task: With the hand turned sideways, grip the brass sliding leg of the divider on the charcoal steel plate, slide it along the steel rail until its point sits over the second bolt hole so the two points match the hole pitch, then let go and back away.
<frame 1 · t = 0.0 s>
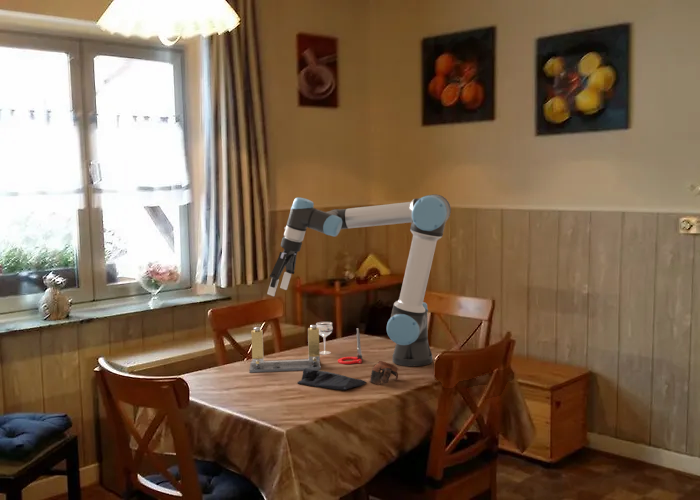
hand: (277, 291, 284), 28 cm above the table, tool tilted 20°, fingers open, 13 cm apart
dark folded cloth: (331, 385, 262), on the table
brown crumpled piece: (384, 382, 262), on the table
wineglass: (324, 353, 303), on the table
sliding leg: (257, 345, 281), point 9 cm above the table, slide at 7.0 cm
tow hook: (349, 362, 289), on the table
bolt plate: (285, 366, 284), on the table
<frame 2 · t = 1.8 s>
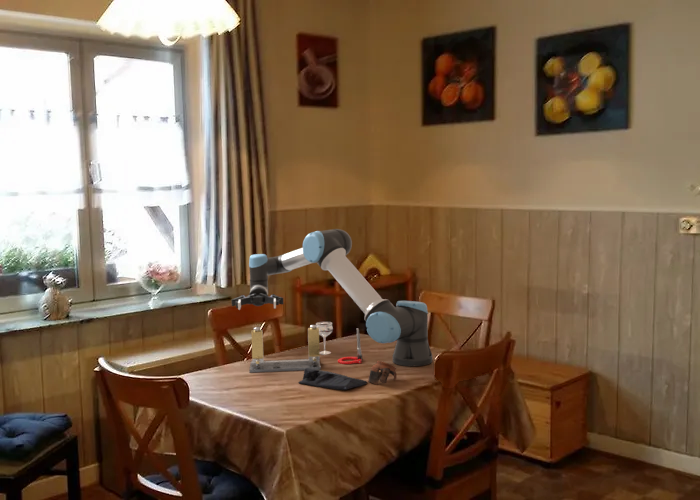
hand: (256, 305, 290), 22 cm above the table, tool horizontal, fingers open, 13 cm apart
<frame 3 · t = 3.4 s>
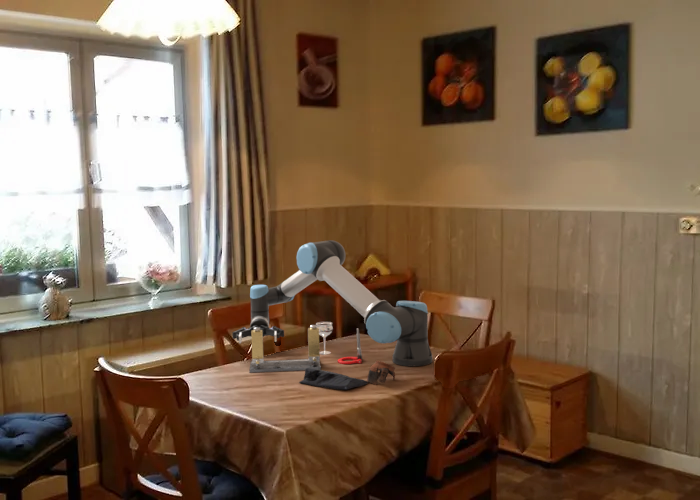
hand: (257, 339, 290), 9 cm above the table, tool horizontal, fingers open, 13 cm apart
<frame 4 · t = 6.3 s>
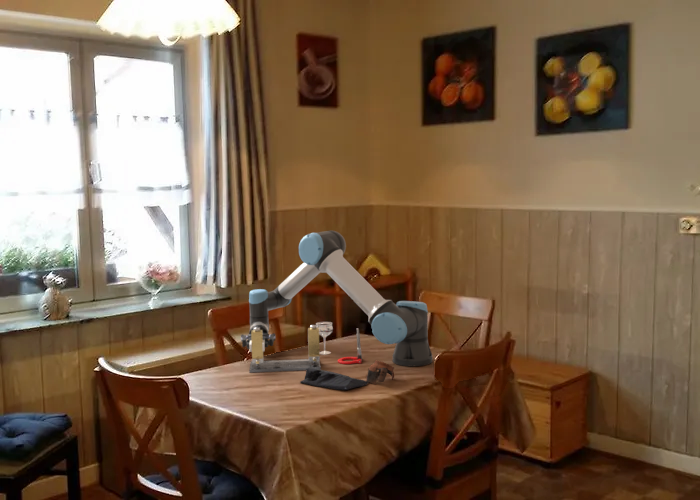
hand: (256, 347, 276), 9 cm above the table, tool horizontal, fingers closed on sliding leg, 4 cm apart
sliding leg: (257, 345, 281), point 9 cm above the table, slide at 7.0 cm, touching gripper
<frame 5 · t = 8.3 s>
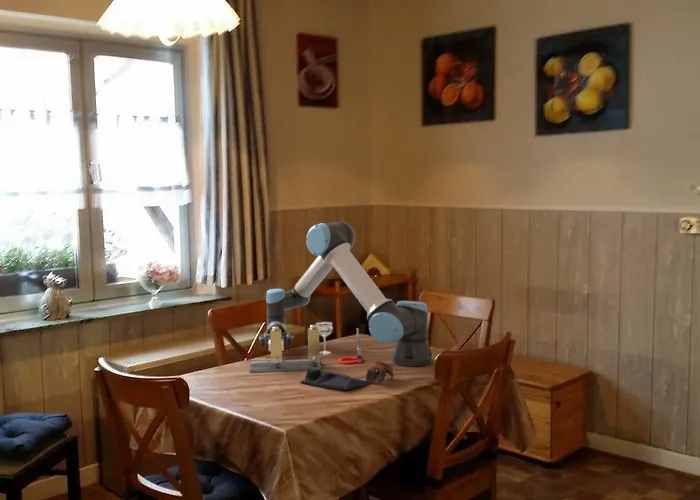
hand: (276, 347, 277), 9 cm above the table, tool horizontal, fingers closed on sliding leg, 4 cm apart
sliding leg: (276, 344, 281), point 9 cm above the table, slide at 0.0 cm, touching gripper
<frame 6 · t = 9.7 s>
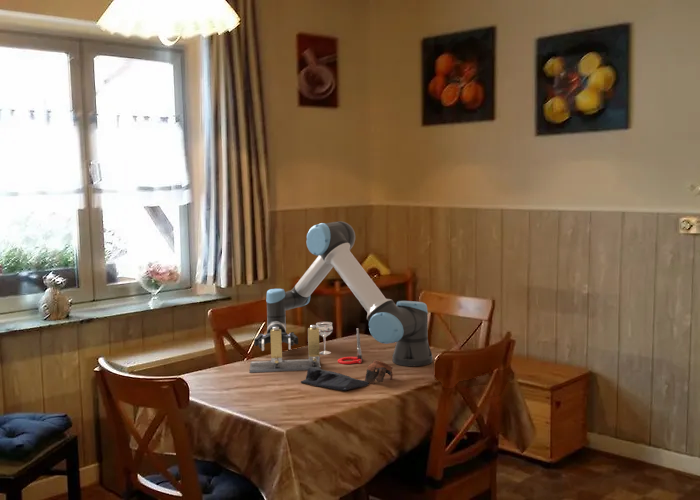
hand: (276, 346, 278), 9 cm above the table, tool horizontal, fingers open, 9 cm apart
sliding leg: (276, 344, 281), point 9 cm above the table, slide at 0.0 cm
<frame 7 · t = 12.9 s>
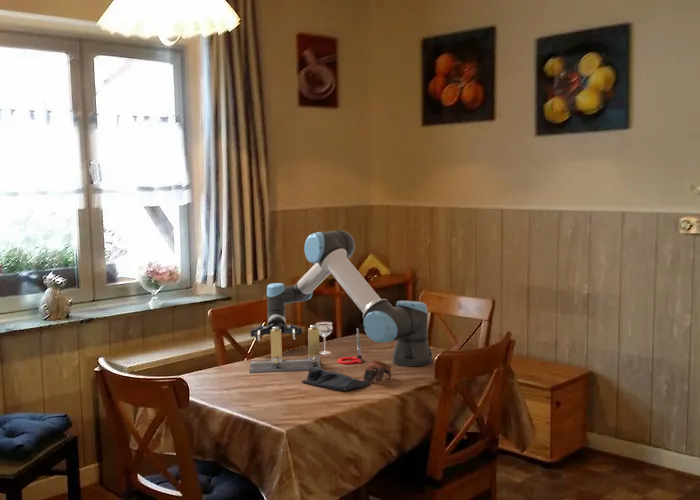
hand: (276, 336, 292), 9 cm above the table, tool horizontal, fingers open, 13 cm apart
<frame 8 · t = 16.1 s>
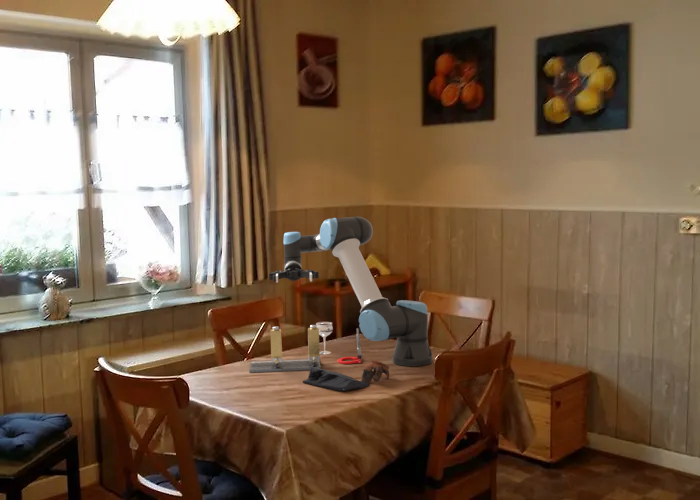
hand: (294, 278, 301), 30 cm above the table, tool horizontal, fingers open, 13 cm apart
at the end: sliding leg slide at 0.0 cm; the gripper is holding nothing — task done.
